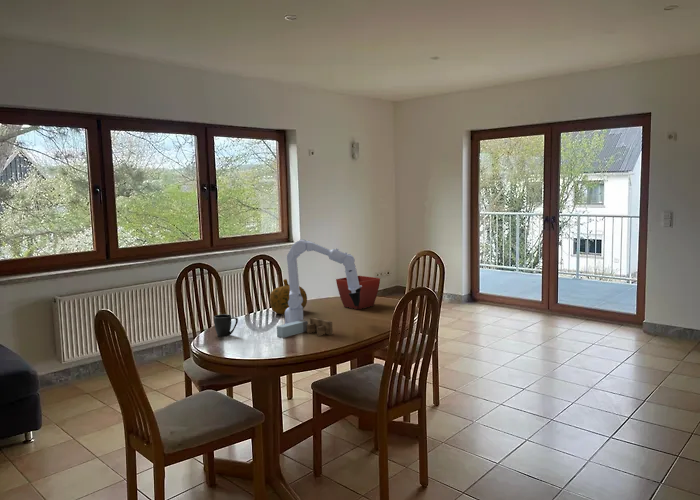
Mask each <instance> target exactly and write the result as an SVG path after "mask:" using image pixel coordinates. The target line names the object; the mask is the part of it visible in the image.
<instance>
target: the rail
mask: <svg viewBox="0 0 700 500" xmlns="http://www.w3.org/2000/svg"><path fill="white" fill-rule="evenodd" d="M307 325H308V320H305V319H303V320H299V321H296V322H292V323H288V324H285V323H283V324H280V325H277V326H276V335H277V337H278V338H281V339H283V338H287V337H291V336H295V335H297V334H302V333H305V332H306V333H307Z"/></svg>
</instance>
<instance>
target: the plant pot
mask: <svg viewBox="0 0 700 500" xmlns="http://www.w3.org/2000/svg"><path fill="white" fill-rule="evenodd" d="M335 279H336V280H335V281H336V282H335V283H336V287H337V290H338V291H337V292H338V295H339V297H340V298H339V299H340V300H341V302H342V305H343V307H344V308H348V307H349V308H350V309H353V308H354V310H362V308H363V309H367V308H366V307H368V308H371V307H370V306H373V307H374V306H375V303H376V299H377V296H378V294H379V293H378V292H379V290H380V282H381V278H379V277H372V276H365V275H358V281H359V285H362V287H360V288H361V290H360V303H359V306H354V303H353V301H352V299H351V297H350V296H349V293H351V292H350V290H348V283H347V278H346V277H342V278H335Z"/></svg>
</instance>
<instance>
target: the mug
mask: <svg viewBox="0 0 700 500" xmlns="http://www.w3.org/2000/svg"><path fill="white" fill-rule="evenodd" d="M232 320H235V324H234V325H233V327H232ZM238 322H239V318H238V317H232V315H231V314H229V313H227V314H226V313H223V314H222V313H221V314H216V315H214V316H213V326H214V329H215V332H216V336H217V337H220V338H221V337H223V338H225V337H228V336H230V335H233V333H234V331H235V330H236V328H237V325H238ZM231 328H232V330H231Z"/></svg>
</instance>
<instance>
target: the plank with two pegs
mask: <svg viewBox="0 0 700 500" xmlns="http://www.w3.org/2000/svg"><path fill="white" fill-rule="evenodd" d="M316 331H317V332H316ZM312 332H313V333H316V335H317V336H319V337H320V336H323V334H324V335H333V332H334V331H333V321H331V320H326V319H320V318H315V317H310V318H309V324H308V325H307V331H306V334H312ZM325 333H326V334H325Z"/></svg>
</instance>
